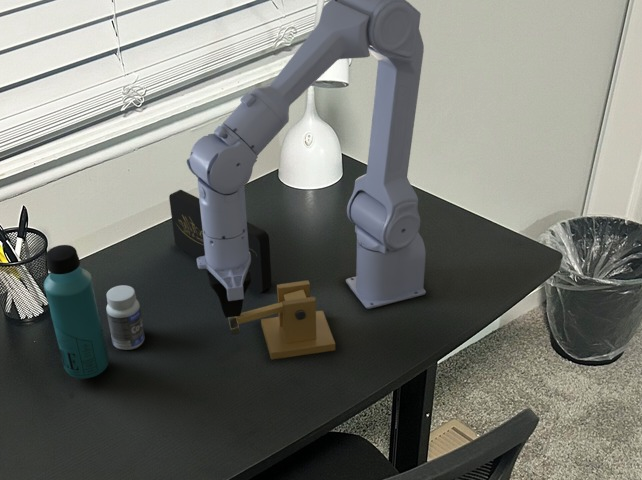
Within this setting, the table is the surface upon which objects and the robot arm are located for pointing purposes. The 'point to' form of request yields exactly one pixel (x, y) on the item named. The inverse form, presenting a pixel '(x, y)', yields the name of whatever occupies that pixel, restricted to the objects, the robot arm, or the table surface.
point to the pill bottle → (124, 318)
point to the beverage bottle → (75, 314)
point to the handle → (262, 311)
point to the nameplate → (192, 241)
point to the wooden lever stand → (297, 325)
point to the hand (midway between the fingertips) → (232, 314)
